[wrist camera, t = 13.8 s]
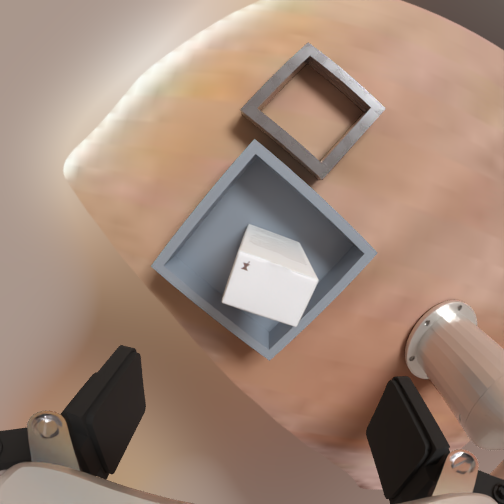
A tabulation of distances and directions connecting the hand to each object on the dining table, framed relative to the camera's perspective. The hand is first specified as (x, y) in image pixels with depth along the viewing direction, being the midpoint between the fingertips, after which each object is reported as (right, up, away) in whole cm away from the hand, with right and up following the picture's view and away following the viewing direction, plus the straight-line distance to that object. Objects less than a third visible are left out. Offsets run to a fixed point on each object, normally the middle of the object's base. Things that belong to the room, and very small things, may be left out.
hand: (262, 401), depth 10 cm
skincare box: (+1, +6, +23) cm, 23 cm away
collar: (+6, +21, +20) cm, 29 cm away
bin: (+1, +6, +23) cm, 24 cm away
